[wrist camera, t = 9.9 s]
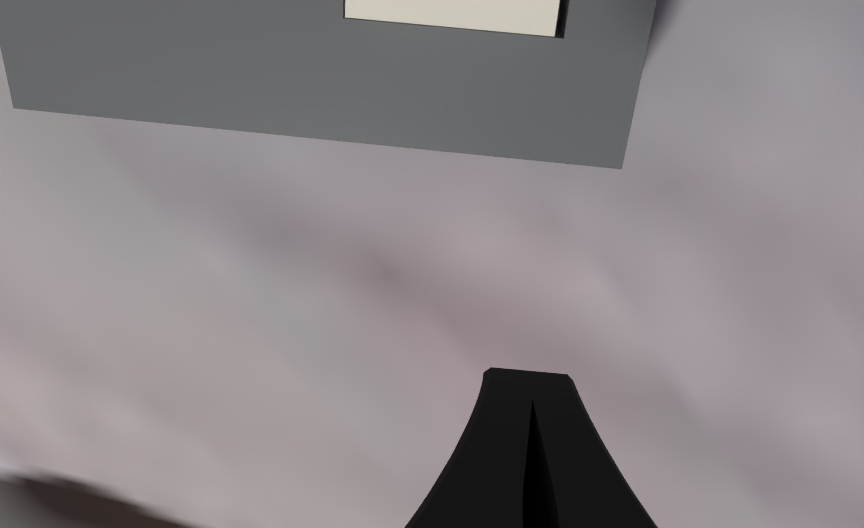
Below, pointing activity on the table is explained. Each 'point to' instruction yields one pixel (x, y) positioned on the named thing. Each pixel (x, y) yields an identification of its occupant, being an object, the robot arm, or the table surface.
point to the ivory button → (463, 14)
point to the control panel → (337, 73)
